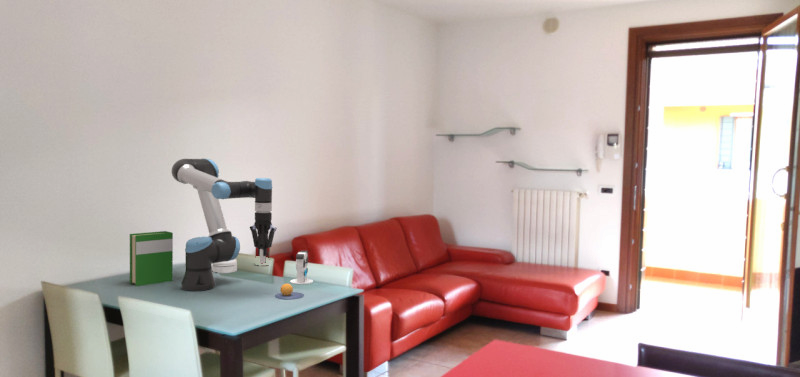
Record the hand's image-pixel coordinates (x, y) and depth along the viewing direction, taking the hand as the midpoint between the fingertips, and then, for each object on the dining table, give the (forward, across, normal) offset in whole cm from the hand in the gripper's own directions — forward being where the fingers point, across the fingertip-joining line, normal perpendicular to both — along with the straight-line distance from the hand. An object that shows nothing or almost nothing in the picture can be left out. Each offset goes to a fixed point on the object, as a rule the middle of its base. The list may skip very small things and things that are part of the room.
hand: (262, 262), depth 266 cm
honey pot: (+14, -44, +35) cm, 58 cm away
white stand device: (+14, +6, +28) cm, 32 cm away
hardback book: (+14, -60, -3) cm, 61 cm away
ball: (+11, +13, 0) cm, 17 cm away
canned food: (+14, -34, +57) cm, 68 cm away
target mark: (+14, +14, 0) cm, 20 cm away
